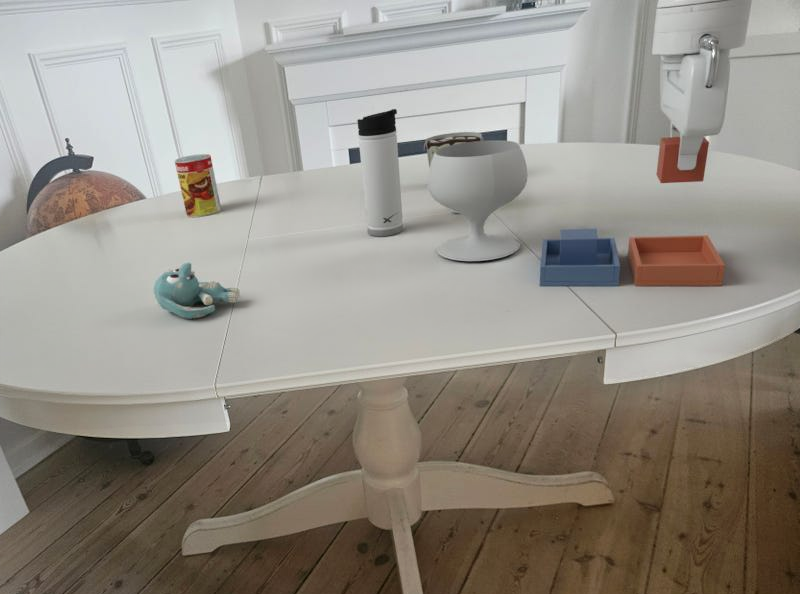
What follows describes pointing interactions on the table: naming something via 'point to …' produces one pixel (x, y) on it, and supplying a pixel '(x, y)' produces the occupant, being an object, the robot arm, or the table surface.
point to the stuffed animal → (190, 293)
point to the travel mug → (380, 173)
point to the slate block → (578, 247)
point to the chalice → (477, 193)
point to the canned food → (198, 185)
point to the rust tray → (675, 261)
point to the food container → (449, 141)
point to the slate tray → (580, 266)
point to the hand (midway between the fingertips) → (681, 163)
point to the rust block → (668, 160)
